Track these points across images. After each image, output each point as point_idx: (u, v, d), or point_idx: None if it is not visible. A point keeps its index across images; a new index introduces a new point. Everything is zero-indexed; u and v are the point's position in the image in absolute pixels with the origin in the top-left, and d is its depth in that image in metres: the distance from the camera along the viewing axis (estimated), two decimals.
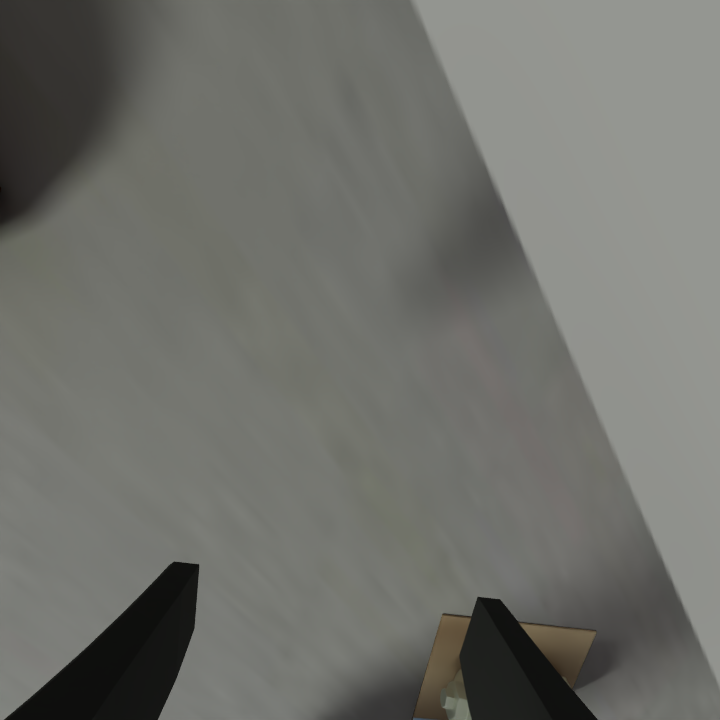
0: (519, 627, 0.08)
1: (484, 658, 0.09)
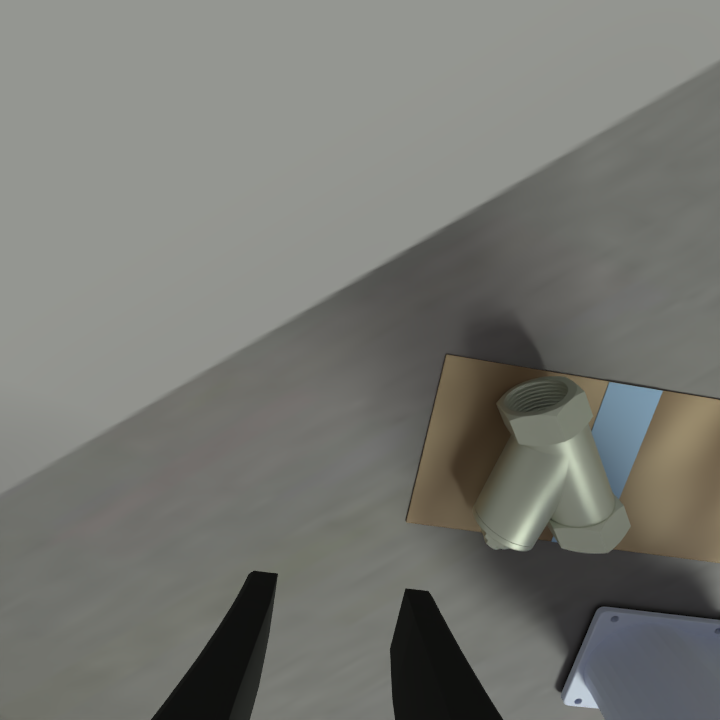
0: (439, 618, 0.08)
1: (405, 650, 0.08)
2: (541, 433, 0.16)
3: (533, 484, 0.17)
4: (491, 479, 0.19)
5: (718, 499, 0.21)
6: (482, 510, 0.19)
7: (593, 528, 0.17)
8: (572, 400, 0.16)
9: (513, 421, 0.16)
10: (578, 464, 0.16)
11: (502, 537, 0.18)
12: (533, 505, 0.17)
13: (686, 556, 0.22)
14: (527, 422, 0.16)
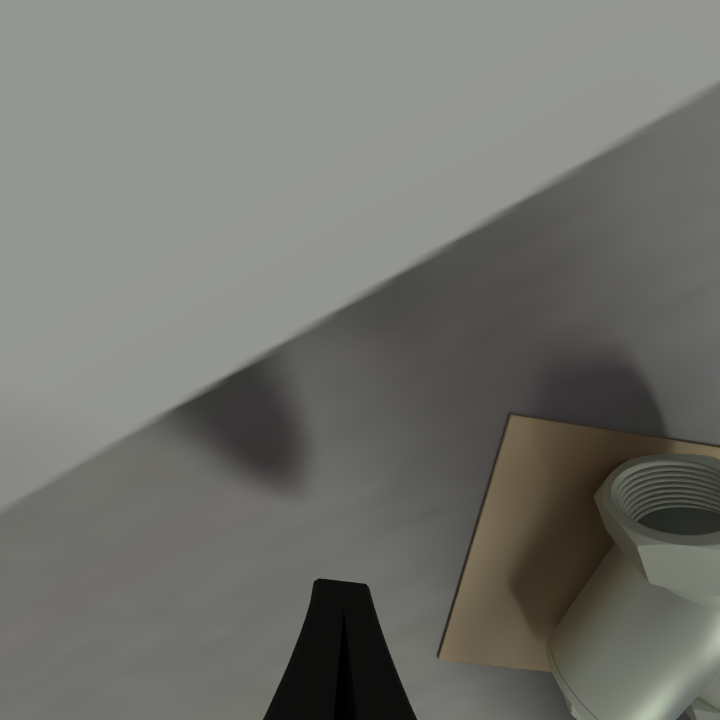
0: (368, 611, 0.08)
1: None
2: (702, 575, 0.09)
3: (674, 654, 0.10)
4: (584, 618, 0.11)
5: None
6: (569, 670, 0.11)
7: None
8: None
9: (645, 548, 0.09)
10: None
11: None
12: (673, 687, 0.10)
13: None
14: (675, 554, 0.09)
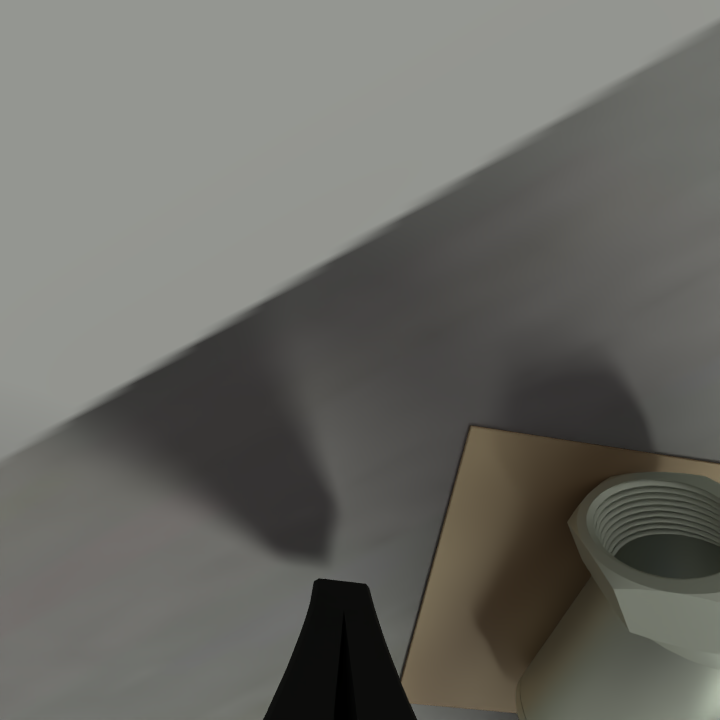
0: (369, 611, 0.08)
1: None
2: (692, 628, 0.07)
3: (659, 717, 0.08)
4: (556, 664, 0.10)
5: None
6: None
7: None
8: None
9: (623, 592, 0.08)
10: None
11: None
12: None
13: None
14: (659, 602, 0.07)
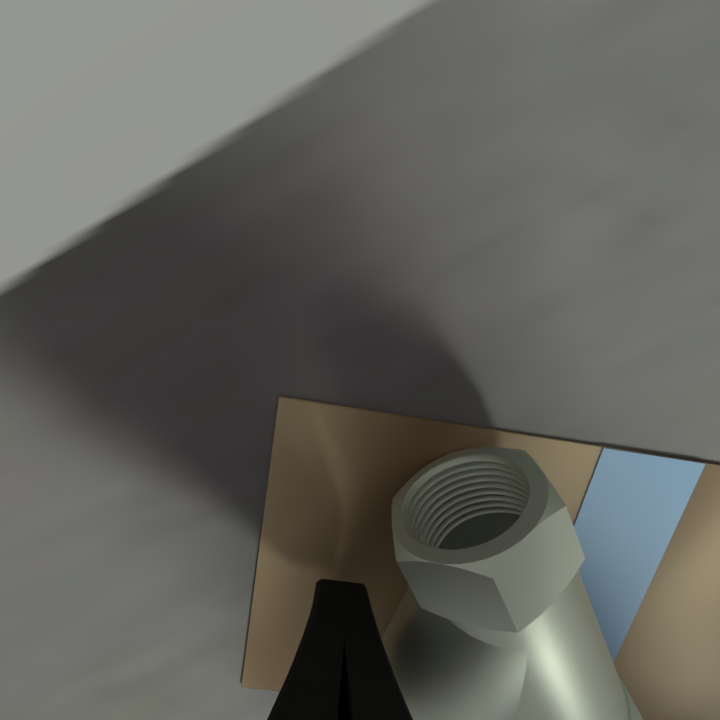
0: (365, 610, 0.08)
1: None
2: (463, 602, 0.07)
3: (451, 698, 0.08)
4: (384, 645, 0.09)
5: None
6: None
7: None
8: (535, 531, 0.06)
9: (404, 564, 0.07)
10: (549, 668, 0.07)
11: None
12: None
13: None
14: (431, 574, 0.07)
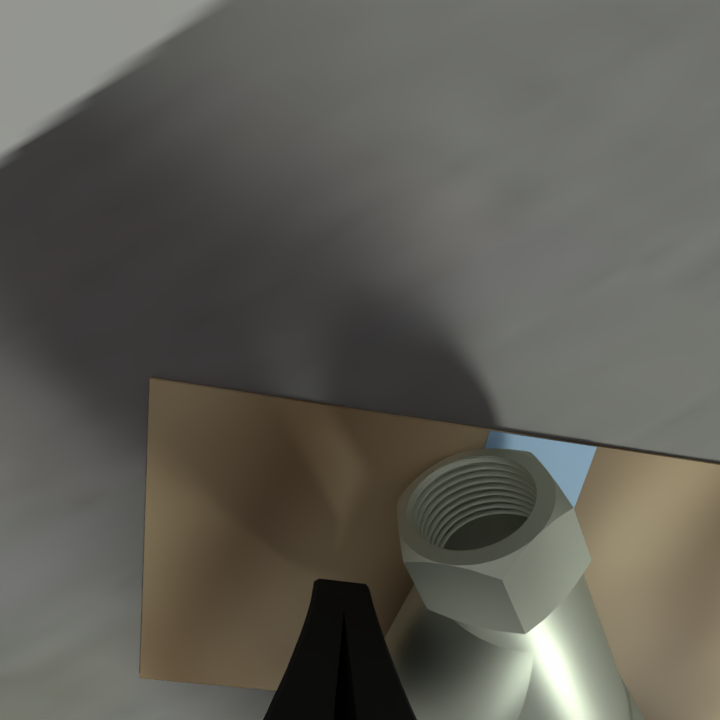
0: (369, 610, 0.08)
1: None
2: (470, 603, 0.07)
3: (455, 699, 0.08)
4: (387, 646, 0.09)
5: (707, 633, 0.12)
6: None
7: None
8: (543, 533, 0.07)
9: (411, 565, 0.07)
10: (555, 669, 0.07)
11: None
12: None
13: None
14: (439, 575, 0.07)
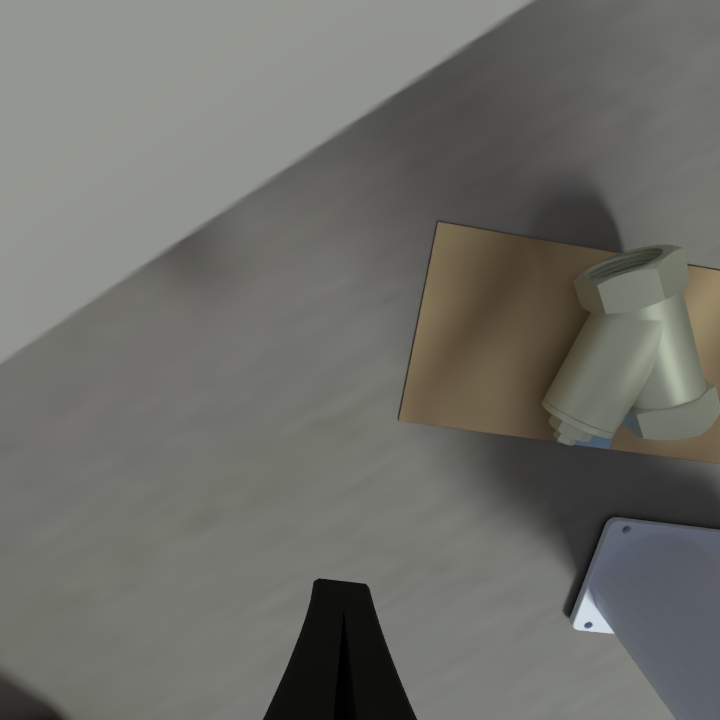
0: (369, 611, 0.08)
1: None
2: (635, 294, 0.15)
3: (621, 357, 0.15)
4: (566, 365, 0.17)
5: None
6: (557, 398, 0.17)
7: (685, 407, 0.16)
8: (671, 255, 0.14)
9: (602, 285, 0.15)
10: (674, 331, 0.15)
11: (582, 422, 0.16)
12: (620, 381, 0.16)
13: (703, 459, 0.20)
14: (619, 283, 0.15)
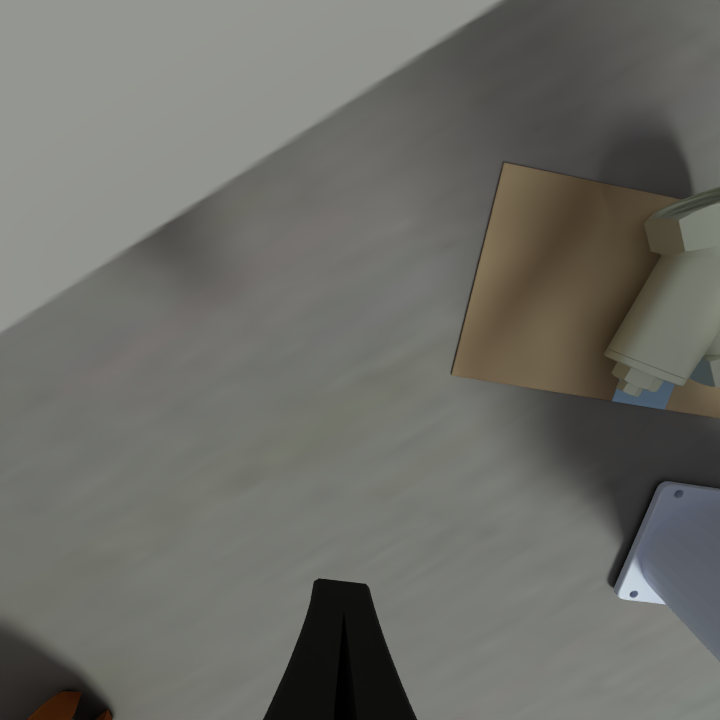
0: (369, 611, 0.08)
1: None
2: None
3: (701, 296, 0.15)
4: (635, 311, 0.17)
5: None
6: (625, 346, 0.17)
7: None
8: None
9: (684, 219, 0.14)
10: None
11: (655, 367, 0.16)
12: (699, 323, 0.15)
13: None
14: (704, 216, 0.14)
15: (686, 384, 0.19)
